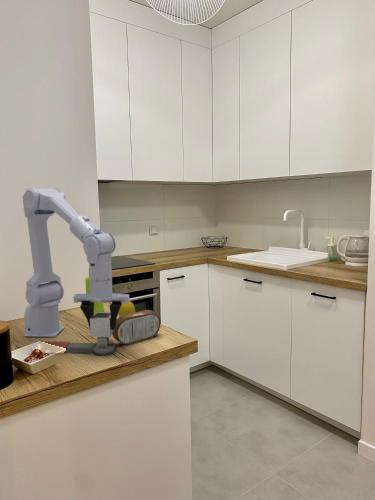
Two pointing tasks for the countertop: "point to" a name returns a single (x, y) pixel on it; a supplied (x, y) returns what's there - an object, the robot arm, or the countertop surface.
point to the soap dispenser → (97, 305)
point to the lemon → (126, 309)
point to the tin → (136, 327)
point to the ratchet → (87, 347)
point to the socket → (101, 324)
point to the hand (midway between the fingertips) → (102, 328)
